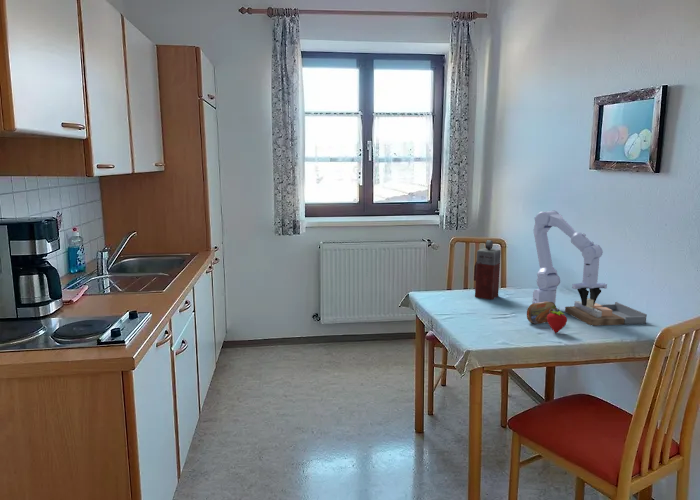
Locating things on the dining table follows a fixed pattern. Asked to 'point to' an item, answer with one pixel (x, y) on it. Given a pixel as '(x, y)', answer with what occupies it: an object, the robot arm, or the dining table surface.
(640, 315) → the box
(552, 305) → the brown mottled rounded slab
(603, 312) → the tile
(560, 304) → the dining table surface
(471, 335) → the dining table surface
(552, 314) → the strawberry
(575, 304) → the grey bar with block
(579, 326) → the dining table surface
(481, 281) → the brown rectangular bottle
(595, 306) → the tile
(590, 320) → the board
